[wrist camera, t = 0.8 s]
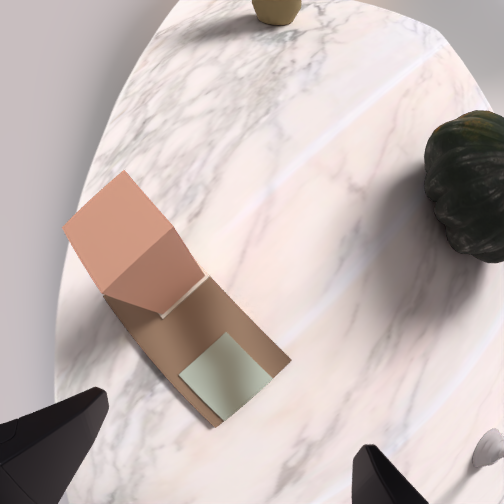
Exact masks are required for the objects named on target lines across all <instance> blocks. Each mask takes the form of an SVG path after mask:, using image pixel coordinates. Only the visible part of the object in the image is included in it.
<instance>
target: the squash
mask: <svg viewBox="0 0 504 504" xmlns="http://www.w3.org/2000/svg"><path fill="white" fill-rule="evenodd" d="M424 161H425V170H426V173H427V175H426V178H425V183H424V186H425V193H426V195H427V197H428V198H429V199H430V200H432V201H434V202H436V205H435V209H434V211H435V215H436V217H437V219H438V220H439V221H440V222H441V223H443V224H444V225H446V235H447V239H448V241H449V243H450V245H451V247H452V248H453V249H454V250H455V251H457V252H459V253H464V254H471V255H473V256H474V257H476V258H477V259H479V260H481V261H484V262H487V263H500V262H503V261H504V117H502V116H500V115H498V114H495V113H493V112H490V111H481V110H475V111H472V112H469V113H466V114H464V115H462V116H460V117H458V118H457V119H455V120H452V121H449V122H446V123H444V124H442V125H440V126H439V127H438V128H436V129H435V130H434V132H433V133H432V135H431V136H430V138H429V140H428V142H427V145H426V148H425V154H424Z"/></svg>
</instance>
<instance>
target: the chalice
mask: <svg viewBox="0 0 504 504" xmlns="http://www.w3.org/2000/svg"><path fill="white" fill-rule="evenodd" d="M502 457H504V436H503V435H502V434H501V433H500V432H499V430H497V429H491V430H489V431H488V432H487V433H486V434H485V435H484V436H483V437H482V438H481V440H480V441H479V443H478V445H477V447H476V449H475V451H474V455H473V465H474V466H475V467H481V466H487V465H488V466H489V465H492V464H494V463H496V462H497V461H498V460H499V459H500V458H502Z"/></svg>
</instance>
